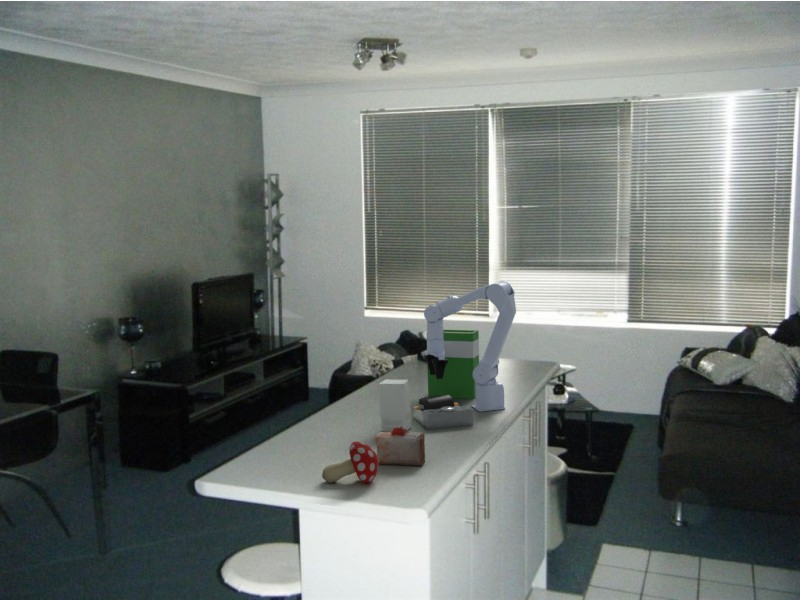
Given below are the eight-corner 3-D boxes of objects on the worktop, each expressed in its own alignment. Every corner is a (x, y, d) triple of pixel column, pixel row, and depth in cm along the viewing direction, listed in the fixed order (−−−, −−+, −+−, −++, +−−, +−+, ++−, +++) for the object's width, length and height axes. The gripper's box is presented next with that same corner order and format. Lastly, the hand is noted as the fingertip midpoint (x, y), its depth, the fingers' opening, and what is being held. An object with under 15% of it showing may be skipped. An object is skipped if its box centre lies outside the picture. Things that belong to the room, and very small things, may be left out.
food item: (372, 466, 217) (371, 430, 216) (379, 457, 225) (378, 422, 224) (422, 468, 214) (421, 432, 213) (427, 459, 222) (426, 424, 221)
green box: (428, 396, 297) (426, 332, 294) (434, 391, 304) (433, 329, 301) (474, 398, 290) (472, 333, 288) (479, 394, 297) (478, 330, 294)
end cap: (430, 421, 261) (430, 401, 261) (418, 417, 267) (417, 397, 266) (454, 416, 267) (454, 396, 266) (441, 412, 273) (441, 392, 272)
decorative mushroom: (310, 451, 203) (364, 430, 201) (325, 462, 212) (377, 442, 211) (320, 493, 197) (376, 471, 196) (335, 502, 207) (388, 481, 206)
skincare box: (411, 427, 254) (410, 379, 252) (405, 433, 248) (403, 383, 246) (387, 426, 257) (385, 378, 255) (379, 431, 251) (378, 382, 249)
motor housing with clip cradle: (456, 413, 270) (456, 396, 270) (473, 424, 255) (472, 407, 254) (414, 417, 267) (413, 400, 266) (428, 429, 251) (427, 412, 251)
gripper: (418, 336, 287) (419, 373, 289) (430, 342, 273) (431, 381, 275) (437, 335, 289) (438, 372, 290) (450, 341, 275) (451, 379, 277)
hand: (436, 376), depth 283 cm, fingers open, 7 cm apart
